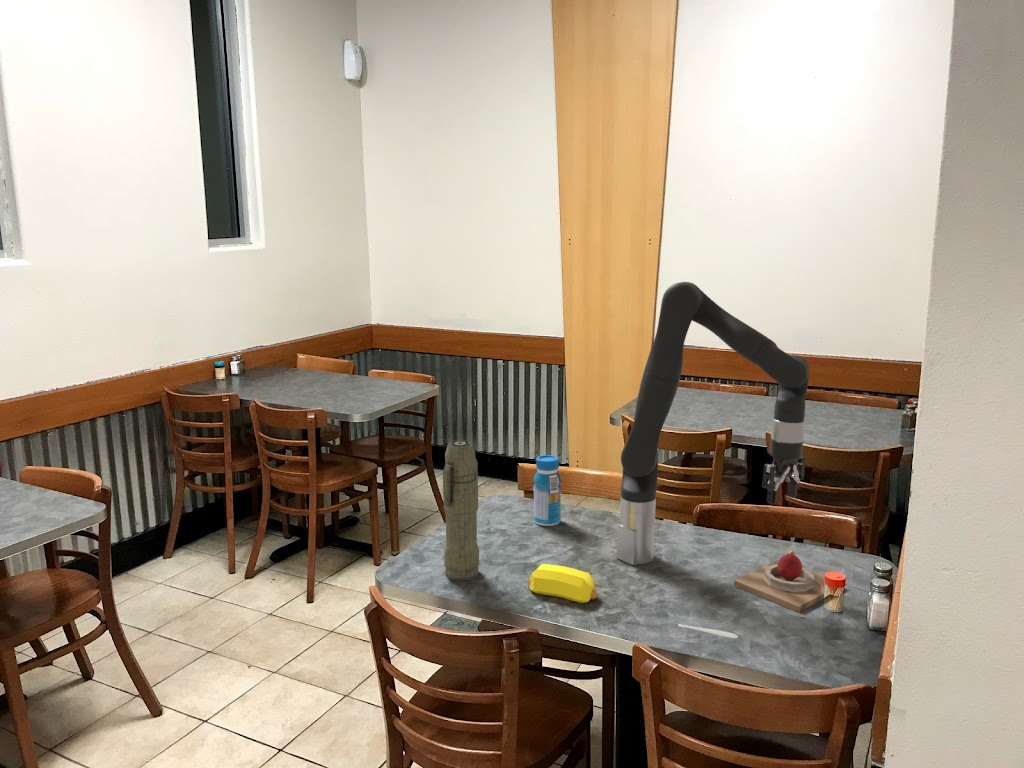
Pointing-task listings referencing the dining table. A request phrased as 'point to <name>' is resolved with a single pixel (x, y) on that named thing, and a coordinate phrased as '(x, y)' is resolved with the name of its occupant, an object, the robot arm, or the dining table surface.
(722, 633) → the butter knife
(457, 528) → the thermos
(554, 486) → the beverage bottle
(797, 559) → the onion
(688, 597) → the dining table surface
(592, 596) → the low-poly banana
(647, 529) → the robot arm
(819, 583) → the mount board
